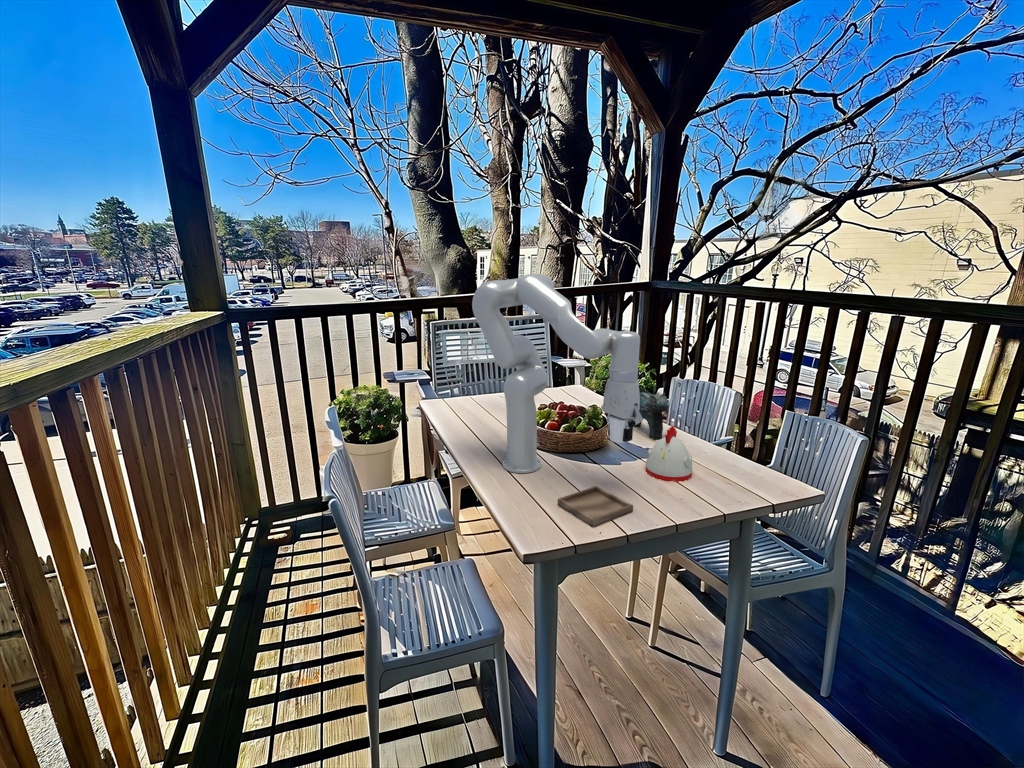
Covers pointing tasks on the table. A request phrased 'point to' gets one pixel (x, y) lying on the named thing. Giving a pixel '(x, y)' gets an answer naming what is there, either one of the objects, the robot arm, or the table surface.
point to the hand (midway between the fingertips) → (619, 437)
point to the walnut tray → (595, 506)
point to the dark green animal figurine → (653, 412)
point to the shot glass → (617, 428)
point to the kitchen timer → (669, 459)
